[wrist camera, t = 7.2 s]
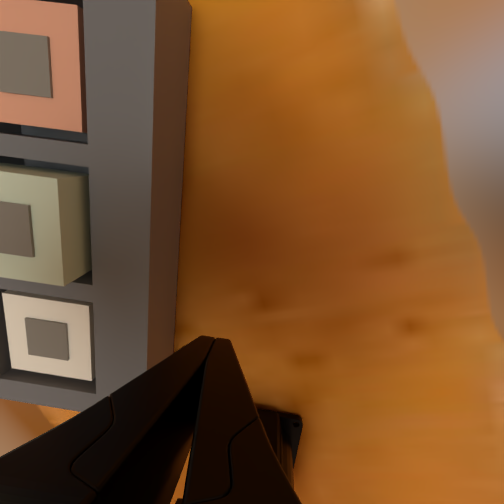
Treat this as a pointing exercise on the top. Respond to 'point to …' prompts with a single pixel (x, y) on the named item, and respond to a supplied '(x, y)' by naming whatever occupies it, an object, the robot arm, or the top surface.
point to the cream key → (50, 334)
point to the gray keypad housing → (117, 195)
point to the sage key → (44, 224)
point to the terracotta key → (42, 65)
